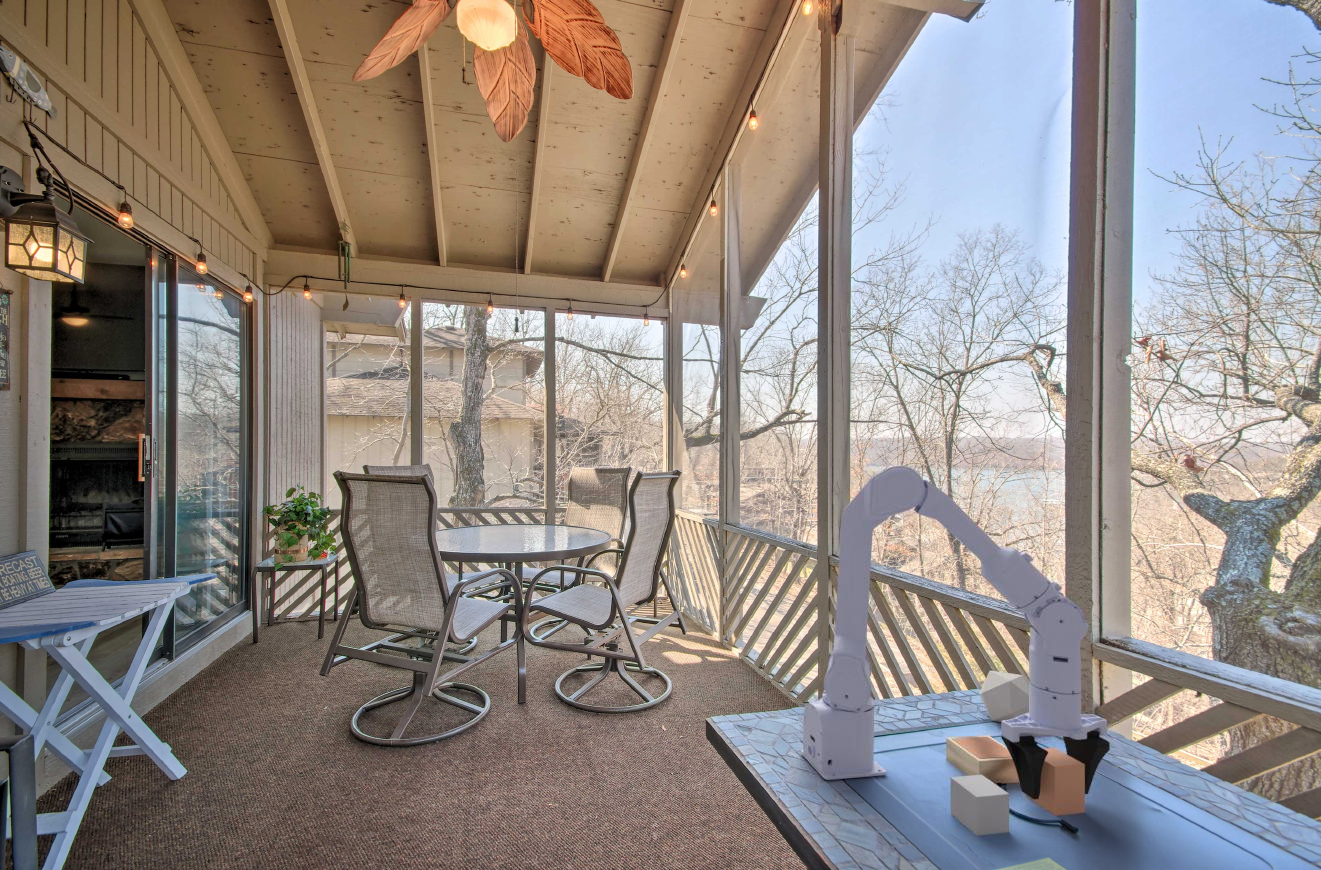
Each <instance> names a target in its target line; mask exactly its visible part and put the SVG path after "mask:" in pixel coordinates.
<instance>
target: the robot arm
mask: <svg viewBox="0 0 1321 870" xmlns="http://www.w3.org/2000/svg"><path fill="white" fill-rule="evenodd" d="M912 509H913V511H914V512H915V513H916V514H917V515H920V516H924V517H926V518H930V519H932V520H933V519H934V520H936V521H937V522H938V523H940V524H941V525H942V526H943V527H944V528H945V529H946V530H947V531H948V532H949V534H951V535H952V536H953V537H955V539H957V541H959V542H960V543H961V544H962V545H963V546H964V547H965V548H967V549H968V550H969V551H970V552H971V553H972V554H973V555H974V556H975V557H976V559H978V560H979V561H980V574H981V577H982V578H983V579H984V580H985V581H986V582H988V583H989V585H990V586H991V587H993V588H994V589H995V590H996V591H997V592H998V594H1000V595H1001V596H1002V597H1003V598H1004V599H1005V600H1006V601H1007V602H1008V603H1009V604H1010V605H1011V606H1012V607H1013V608H1014V609H1015V610H1016V611H1018V612H1019V613H1022V614H1023V617H1024V618H1025V620H1026V622H1027V623H1029V624H1031V627H1030V628H1029V647H1028V661H1029V662H1028V686H1029V713H1026V714H1024V715H1021V716H1018V717H1015V718H1013V719H1010V720H1002V721H1001V722H1000V723H1001V732H1000V734H1001V735H1000V736H1001V737H1000V738H1001V740H1002V741H1003V743H1004V746H1006V747H1007V749H1008V751H1009V753H1010V755H1011V757H1012V760H1013V762H1014V765H1015V768H1016V771H1017V774H1018V778H1019V782H1018V783H1019V786H1020V789H1021V792H1022V793H1023V794H1024V795H1025V796H1026V795H1028V796H1029V797H1031V798H1032V799H1038V798H1039V795H1040V786H1041V772H1042V768H1043V764H1044V761H1045V758H1046V756H1047V754H1048V751H1046V750H1045V748H1043V747H1041V746H1039V745H1038V742H1037V741H1035V739H1037V738H1038V739H1039V738H1048V737H1049V738H1051V737H1052V738H1053V737H1062V739H1063V741H1064V746H1065V752H1066V754H1067V755H1069V756H1070V757H1072V758H1074V759H1076V760H1078V761H1079V762H1081V763H1083V764H1085V795H1088V794H1089V793H1090V789H1091V787H1092V784H1093V780H1094V776H1095V774H1096V771H1097V769H1098V766H1099V765H1100V763H1101V762H1102V760H1103V759H1104V757H1105V756H1106V754H1107V753H1108V752H1109V751H1110V749H1111V747H1110V744H1111V743H1110V741H1109V740H1107V739H1105V738H1103V737H1101V736H1107V735H1108V720H1107V719H1105V718H1102V716H1101V717H1100V716H1098V715H1096V714H1094V713H1093V714H1092V713H1091V714H1090V713H1089V714H1084V713H1083V714H1082V656H1081V640H1083V639H1084V637H1085V636H1086V635H1087V633H1088V631H1089V625H1090V624H1089V623H1088V622H1087V621H1086V618H1085V613H1084V612H1083V610H1082V609H1081V607H1079V605H1078V604H1076V603H1075V602H1073V601H1072V600H1071V599H1069V598H1067V597H1066V596H1065V594H1064V593H1063V592H1061V590H1062V589H1063V588H1062V586H1061V585H1060V583H1058V582H1057V581H1051V580H1049V578H1047V577H1046V575H1044V574H1043V573H1042V571H1040V570H1039V569H1038V568H1037V567H1036V566H1034V565H1033V563H1031V562H1033V561H1034V558H1033V557H1032V556H1031V555H1030V554H1028V553H1027V552H1026V551H1022V552H1020V551H1019V550H1018V549H1017V548H1015V547H1011V546H1010V547H1009V546H999V545H998V544H997V543H996V542H995V541H994V540H993V539H992V538H991V537H990V536H989V535H988V534H987V533H986V532H985V531H984V530H983V529H982V528H981V527H980V526H979V525H978V524H977V523H976V522H975V521H974V520H973V519H972V518H971V517H970V516H969V515H968V514H967V513H966V512H965V511H964V510H963V508H961V507H960V506H959V505H958V504H957V502H955V501H954V500H953V499H952V498H951V497H950V496H949V495H948V494H947V493H945V492H944V491H942V490H941V489H940V488H939V487H937V486H936V485H934V484H933V483H932V482H931V481H929V480H927V479H923V477H922V476H921V475H920V474H919V472H918V471H916V470H915V469H913V468H911V467H909V466H907V465H892V466H889V467H887V468H884V469H883V470H881V471H880V472H878V473H876V474H874V475H873V476H871V477H870V478H869V479H868V480H867V481H866V483H865V484H864V485H863V487H861V489H860V490H859V491H858V492H857V493H856V495H855V496H854V497H853V498H852V500H851V501H850V502H849V503H848V504H847V505H846V506H845V508H844V509H843V511H842V514H841V520H840V521H841V524H840V540H839V542H840V543H839V556H838V557H839V558H838V559H839V560H838V572H837V591H836V593H837V594H836V609H835V624H834V625H835V626H834V640H833V648H832V652H831V654H830V655H829V659H828V661H827V669H826V673H825V675H824V679H823V688H824V690H823V692H822V694H821V695H822V696H821V698H820V699H818V700H817V701H813V702H809V703H807V704H806V705H805V707H804V710H803V739H802V740H803V742H802V749H801V750H800V754H801V755H802V756H803V757H804V758H805V759H806V760H807V761H808V763H809V764H810V765H811V766H812V767H813V769H815V770H816V772H817V773H819V775H820V776H821V777H822V778H823V780H824V779H825V780H827V781H832V780H842V779H843V780H844V779H854V778H865V777H867V778H868V777H875V776H877V777H879V776H886V775H887V770H886V769H885V768H884V767H883V766H882V765H880V763H878V762H877V761H876V760H875V759H874V758H875V755H874V754H875V752H874V751H875V750H874V749H875V747H874V746H875V740H874V739H875V728H874V727H875V700H874V699H873V697H872V695H871V694H872V685H871V684H872V683H871V676H872V664H871V661H870V660H869V657H868V654H867V636H868V621H869V620H868V619H869V601H870V585H871V584H870V583H871V567H872V566H871V565H872V564H871V563H872V549H873V548H872V547H873V531H874V530H875V529H876V528H877V527H879V526H880V525H881V524H883V523H884V522H885V521H887V520H888V519H889V518H890V517H892V516H896V515H897V514H898V515H899V514H901V513H904V512H907V511H911V510H912ZM1032 626H1033V627H1032Z"/></svg>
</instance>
